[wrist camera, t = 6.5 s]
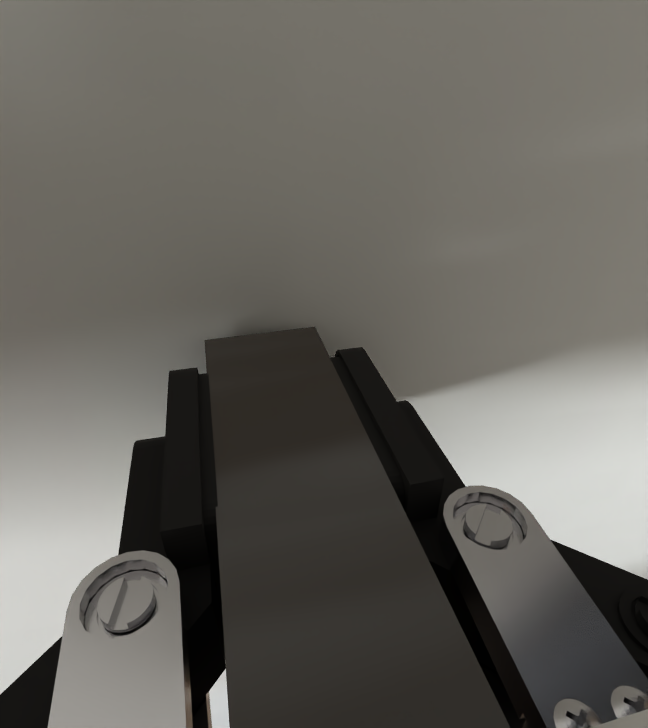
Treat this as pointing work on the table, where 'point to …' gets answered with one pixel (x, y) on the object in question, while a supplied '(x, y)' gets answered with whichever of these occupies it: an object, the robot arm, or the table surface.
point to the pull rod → (323, 558)
